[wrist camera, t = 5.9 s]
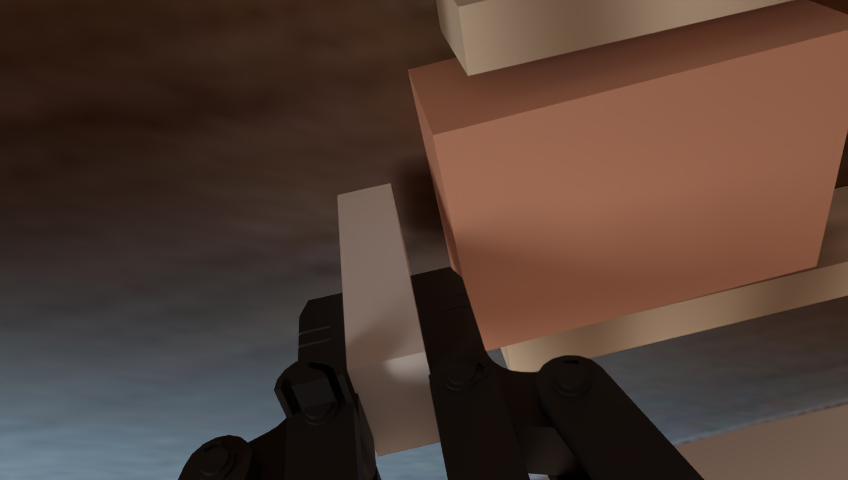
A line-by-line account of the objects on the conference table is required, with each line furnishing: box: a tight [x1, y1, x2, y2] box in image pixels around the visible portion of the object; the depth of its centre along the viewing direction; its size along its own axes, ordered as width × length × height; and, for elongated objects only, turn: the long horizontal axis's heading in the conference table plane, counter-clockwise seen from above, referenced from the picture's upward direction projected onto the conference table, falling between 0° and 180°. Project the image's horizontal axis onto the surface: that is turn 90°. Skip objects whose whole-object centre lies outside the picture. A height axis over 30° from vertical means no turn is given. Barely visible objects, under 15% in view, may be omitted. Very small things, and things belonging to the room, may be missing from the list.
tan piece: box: [436, 0, 848, 372], centre depth 18 cm, size 18×12×4 cm, turn 101°
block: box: [408, 0, 848, 351], centre depth 17 cm, size 10×7×4 cm
